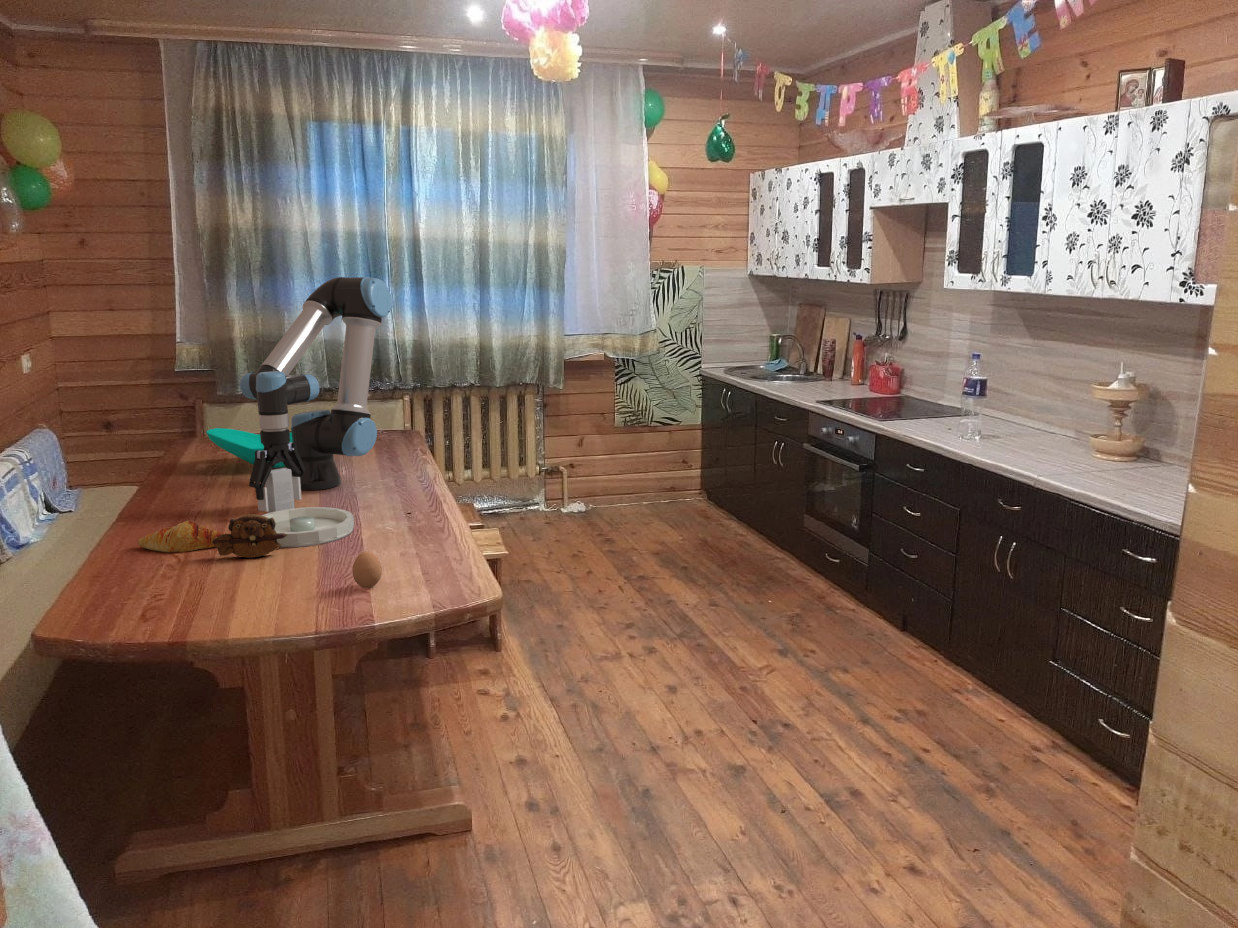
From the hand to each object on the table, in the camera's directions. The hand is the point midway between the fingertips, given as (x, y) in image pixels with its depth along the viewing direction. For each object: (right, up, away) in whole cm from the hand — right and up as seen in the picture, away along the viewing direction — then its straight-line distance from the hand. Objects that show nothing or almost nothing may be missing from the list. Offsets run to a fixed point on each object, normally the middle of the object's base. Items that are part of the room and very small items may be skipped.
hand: (280, 505), depth 258 cm
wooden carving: (+7, -11, -39) cm, 41 cm away
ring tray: (+13, -6, -19) cm, 24 cm away
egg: (+40, -15, -59) cm, 73 cm away
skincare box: (0, -2, 0) cm, 2 cm away
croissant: (-12, -9, -31) cm, 34 cm away
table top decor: (-24, +10, +58) cm, 64 cm away
